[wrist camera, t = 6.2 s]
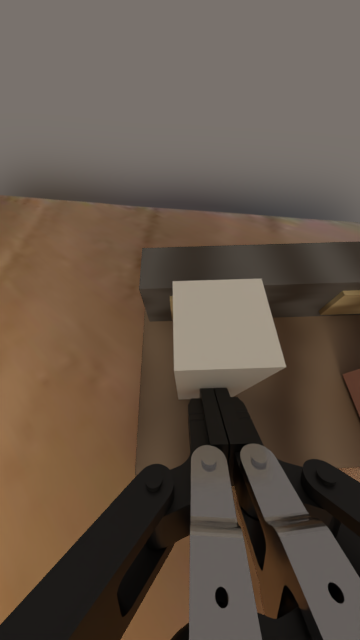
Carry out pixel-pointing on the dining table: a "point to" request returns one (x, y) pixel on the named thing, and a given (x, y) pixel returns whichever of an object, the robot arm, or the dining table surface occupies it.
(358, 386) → the brick key
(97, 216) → the dining table surface
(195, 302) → the cream key
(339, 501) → the robot arm
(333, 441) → the switch board
